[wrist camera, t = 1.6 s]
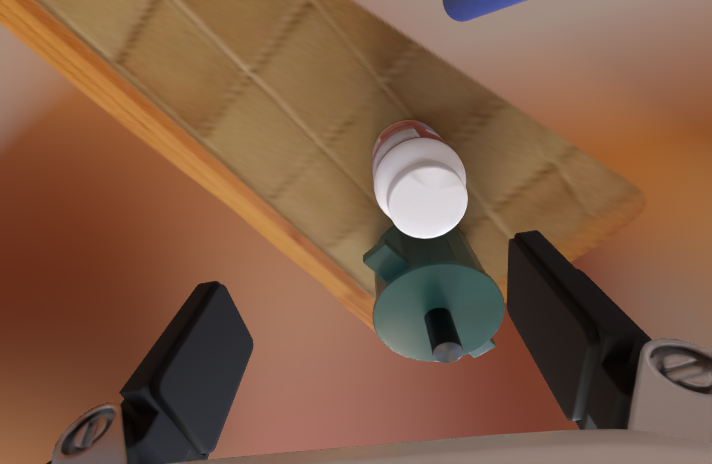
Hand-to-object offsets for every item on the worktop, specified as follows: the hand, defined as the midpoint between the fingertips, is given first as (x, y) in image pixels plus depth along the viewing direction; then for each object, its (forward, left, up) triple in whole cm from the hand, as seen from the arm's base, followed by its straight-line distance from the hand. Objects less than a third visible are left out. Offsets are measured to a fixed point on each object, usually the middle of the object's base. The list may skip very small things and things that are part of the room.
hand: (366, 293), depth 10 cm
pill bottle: (-2, +3, -20) cm, 21 cm away
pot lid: (+4, +13, -12) cm, 18 cm away
